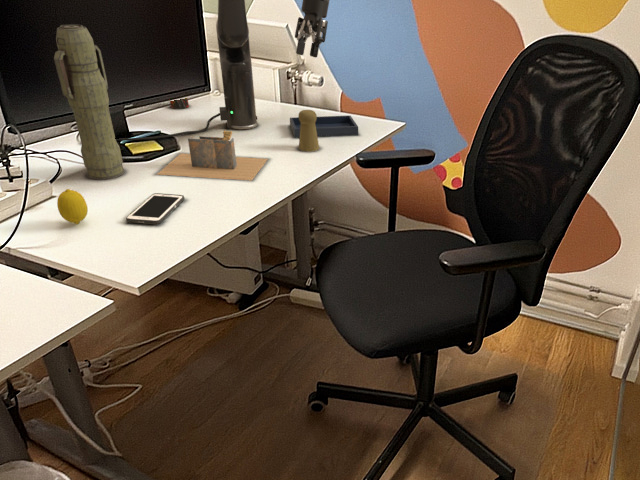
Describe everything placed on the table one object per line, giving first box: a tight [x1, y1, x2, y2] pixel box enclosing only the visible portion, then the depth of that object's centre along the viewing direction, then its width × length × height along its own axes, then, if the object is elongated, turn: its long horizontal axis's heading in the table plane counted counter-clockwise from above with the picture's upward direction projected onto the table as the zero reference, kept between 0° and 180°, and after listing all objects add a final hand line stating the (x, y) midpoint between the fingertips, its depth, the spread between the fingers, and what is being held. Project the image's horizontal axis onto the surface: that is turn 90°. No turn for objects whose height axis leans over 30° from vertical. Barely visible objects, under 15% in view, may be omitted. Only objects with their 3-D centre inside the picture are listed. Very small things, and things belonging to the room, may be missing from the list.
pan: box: [289, 115, 359, 139], centre depth 191 cm, size 20×13×3 cm, turn 105°
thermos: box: [53, 23, 125, 181], centre depth 145 cm, size 9×12×35 cm
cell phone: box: [125, 192, 185, 225], centre depth 136 cm, size 8×15×1 cm, turn 175°
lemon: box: [56, 188, 89, 225], centre depth 127 cm, size 6×6×8 cm
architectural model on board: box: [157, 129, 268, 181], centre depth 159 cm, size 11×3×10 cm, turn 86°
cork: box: [298, 109, 320, 153], centre depth 174 cm, size 6×6×11 cm
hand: (306, 55), depth 180 cm, fingers open, 8 cm apart
